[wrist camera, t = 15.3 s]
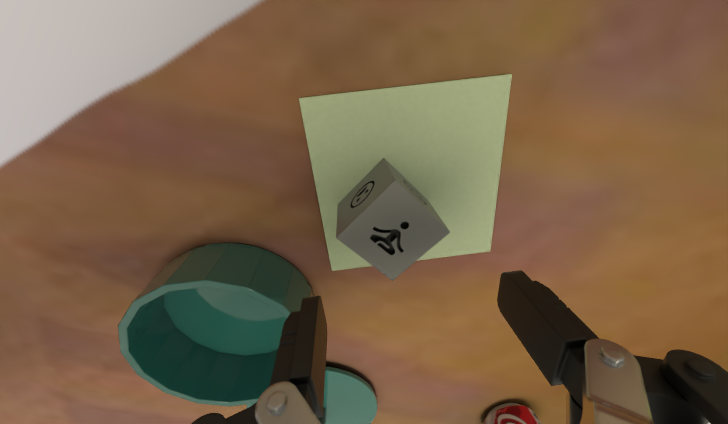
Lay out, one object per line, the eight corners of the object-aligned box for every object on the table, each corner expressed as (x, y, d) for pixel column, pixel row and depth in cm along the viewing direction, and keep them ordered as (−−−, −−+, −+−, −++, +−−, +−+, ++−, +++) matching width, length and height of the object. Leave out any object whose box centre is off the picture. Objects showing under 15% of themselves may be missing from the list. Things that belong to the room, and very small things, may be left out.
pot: (193, 363, 28) (166, 415, 24) (129, 253, 22) (78, 295, 18) (326, 347, 29) (323, 394, 24) (299, 233, 23) (288, 269, 18)
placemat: (331, 268, 24) (331, 271, 24) (299, 97, 18) (298, 98, 18) (488, 249, 24) (490, 251, 24) (509, 74, 18) (512, 73, 18)
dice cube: (337, 204, 21) (336, 238, 17) (383, 157, 20) (395, 180, 15) (382, 241, 23) (392, 280, 18) (428, 200, 22) (450, 232, 17)
